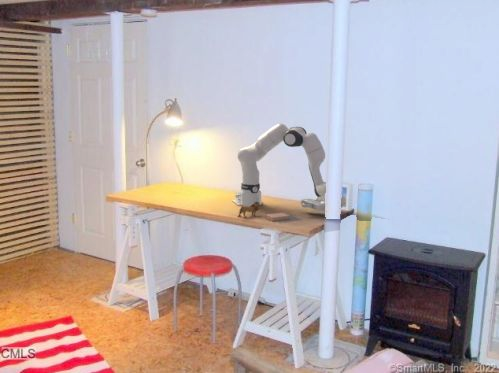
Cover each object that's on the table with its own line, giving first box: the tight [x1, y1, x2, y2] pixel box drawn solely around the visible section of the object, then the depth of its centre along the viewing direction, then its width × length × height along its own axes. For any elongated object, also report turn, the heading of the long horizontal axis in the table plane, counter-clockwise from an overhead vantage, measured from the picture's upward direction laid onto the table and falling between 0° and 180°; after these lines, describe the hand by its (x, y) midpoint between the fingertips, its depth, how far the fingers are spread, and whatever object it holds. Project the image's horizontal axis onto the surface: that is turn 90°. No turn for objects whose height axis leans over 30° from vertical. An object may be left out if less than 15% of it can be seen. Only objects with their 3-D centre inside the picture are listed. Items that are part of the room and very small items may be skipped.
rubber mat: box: [276, 213, 303, 224], centre depth 326 cm, size 18×16×1 cm
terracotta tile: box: [264, 212, 290, 222], centre depth 324 cm, size 8×2×12 cm
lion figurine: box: [237, 201, 261, 218], centre depth 329 cm, size 15×5×9 cm, turn 117°
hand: (303, 205), depth 331 cm, fingers closed
